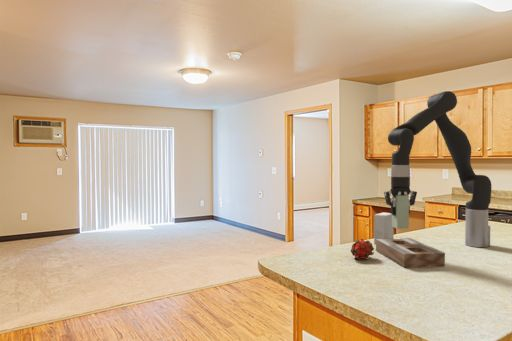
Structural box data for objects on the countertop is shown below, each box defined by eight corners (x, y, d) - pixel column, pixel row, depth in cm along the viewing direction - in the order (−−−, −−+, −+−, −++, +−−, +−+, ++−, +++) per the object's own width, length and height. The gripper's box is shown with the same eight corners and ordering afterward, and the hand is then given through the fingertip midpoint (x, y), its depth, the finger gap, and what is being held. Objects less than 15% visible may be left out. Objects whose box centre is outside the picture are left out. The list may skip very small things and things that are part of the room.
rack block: (410, 249, 164) (410, 238, 164) (444, 266, 139) (444, 252, 138) (375, 250, 163) (375, 239, 163) (404, 267, 137) (404, 253, 137)
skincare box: (383, 241, 181) (383, 212, 180) (394, 244, 176) (394, 213, 176) (373, 244, 176) (373, 213, 175) (384, 246, 171) (384, 215, 170)
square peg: (403, 226, 160) (403, 194, 159) (408, 228, 155) (408, 195, 154) (391, 226, 159) (392, 194, 159) (397, 228, 154) (397, 195, 154)
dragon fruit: (372, 259, 154) (355, 269, 147) (358, 245, 159) (340, 254, 152) (382, 246, 149) (365, 255, 142) (366, 232, 154) (349, 240, 147)
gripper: (412, 175, 161) (411, 213, 161) (380, 175, 160) (380, 214, 160) (421, 175, 153) (420, 216, 154) (388, 176, 152) (387, 216, 153)
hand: (400, 215), depth 157 cm, fingers closed on square peg, 5 cm apart
